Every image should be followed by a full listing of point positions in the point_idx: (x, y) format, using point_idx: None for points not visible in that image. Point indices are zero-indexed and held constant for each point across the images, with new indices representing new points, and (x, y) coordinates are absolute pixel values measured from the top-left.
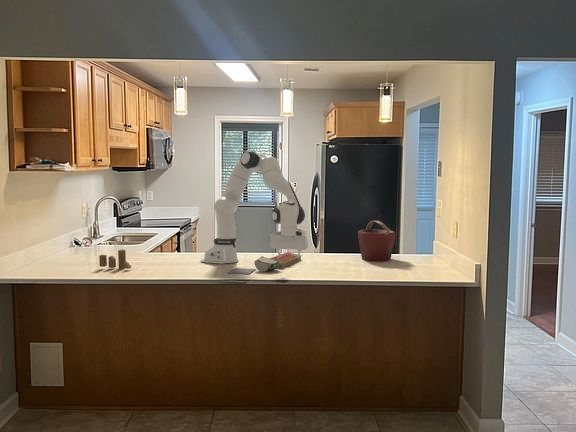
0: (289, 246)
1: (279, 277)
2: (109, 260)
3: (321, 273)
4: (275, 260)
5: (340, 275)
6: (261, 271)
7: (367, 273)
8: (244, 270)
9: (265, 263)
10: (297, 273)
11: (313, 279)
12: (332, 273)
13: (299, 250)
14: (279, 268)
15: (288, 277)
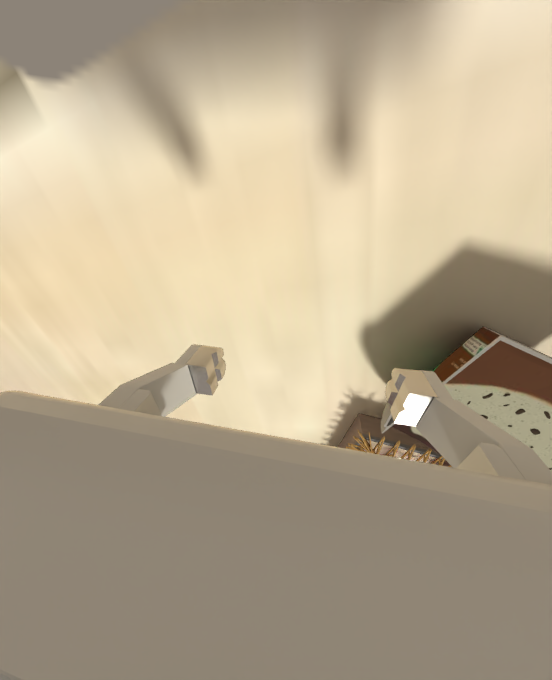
0: (249, 496)
1: (381, 102)
2: None
3: (152, 334)
4: (417, 437)
5: (56, 298)
6: (512, 339)
7: (17, 353)
8: None
9: (527, 374)
10: (261, 319)
11: (83, 97)
12: (113, 339)
13: (119, 401)
14: (370, 418)
15: (294, 136)
